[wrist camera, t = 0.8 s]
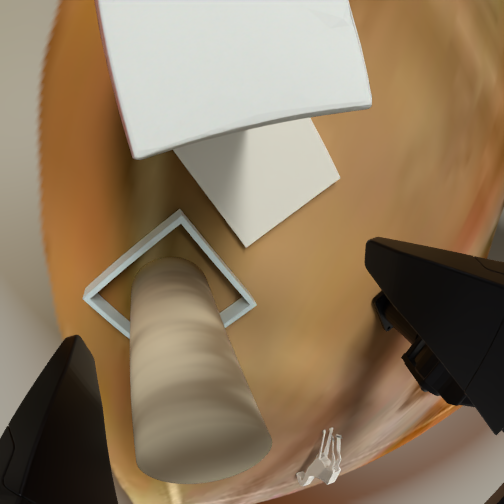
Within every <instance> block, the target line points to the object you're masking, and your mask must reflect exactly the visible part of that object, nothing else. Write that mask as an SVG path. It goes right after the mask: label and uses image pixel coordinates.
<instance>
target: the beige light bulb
mask: <svg viewBox="0 0 504 504" xmlns="http://www.w3.org/2000/svg"><path fill="white" fill-rule="evenodd" d="M130 383H131V405H132V420H133V433H134V444H135V453H136V462H137V465H138V467H139V468H140V470H141V471H142V472H144V473H145V474H147V475H148V476H150V477H152V478H155V479H157V480H161V481H165V482H170V483H178V484H197V483H206V482H212V481H217V480H221V479H225V478H228V477H231V476H234V475H237V474H239V473H241V472H244V471H246V470H248V469H249V468H251V467H253V466H254V465H256V464H257V463H259V462H260V461H261V460H262V459H263V458H264V457H265V456H266V455H267V454H268V452H269V451H270V449H271V446H272V439H271V436H270V434H269V432H268V430H267V427H266V425H265V423H264V421H263V418H262V416H261V414H260V412H259V409H258V407H257V405H256V402H255V400H254V398H253V395H252V393H251V391H250V388H249V386H248V384H247V381H246V379H245V377H244V374H243V372H242V369H241V367H240V364H239V362H238V360H237V357H236V355H235V352H234V350H233V347H232V345H231V342H230V340H229V337H228V335H227V332H226V330H225V327H224V324H223V322H222V319H221V317H220V314H219V311H218V309H217V306H216V304H215V301H214V298H213V296H212V293H211V290H210V288H209V285H208V282H207V279H206V277H205V275H204V273H203V272H202V271H201V269H200V268H199V267H198V266H196V265H195V264H194V263H192V262H190V261H188V260H185V259H182V258H178V257H164V258H159V259H156V260H154V261H152V262H150V263H148V264H146V265H145V266H144V267H143V268H142V269H141V270H140V271H139V272H138V273H137V275H136V276H135V278H134V281H133V284H132V291H131V314H130Z"/></svg>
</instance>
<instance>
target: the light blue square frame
mask: <svg viewBox="0 0 504 504" xmlns="http://www.w3.org/2000/svg"><path fill="white" fill-rule="evenodd" d="M180 224H182V226H183V227H184V228H185V229H186V230H187V232H188V233H189V234H190V235H191V236H192V238H193V239H194V240H195V241H196V242H197V244H198V245H199V246H200V247H201V248H202V250H203V251H204V252H205V253H206V254H207V255H208V257H209V258H210V259H211V260H212V261H213V262H214V264H215V265H216V266H217V267H218V268H219V269H220V271H221V272H222V273H223V274H224V275H225V276H226V278H227V279H228V280H229V281H230V282H231V283H232V285H233V286H234V287H235V288H236V289H237V290H238V291H239V293H240V294H241V295H242V296H243V297H241V298H240V299H238V300H237V301H236V302H234V303H233V304H232V305H230V306H229V307H227V308H226V309H225V310H223V311H222V312H221V313H219V314H220V317H221V319H222V322H223V324H224V327H225V328H226V327H227V326H229V325H230V324H231V323H233V322H234V321H236V320H237V319H238V318H240V317H241V316H243V315H244V314H245V313H247V312H248V311H250V310H251V309H252V308H254V307H255V306H256V305H257V304H256V302H255V300H254V299H253V297H252V295H251V294H250V293H249V292H248V290H247V289H246V288H245V287H244V286H243V284H242V283H241V282H240V281H239V280H238V279H237V277H236V276H235V275H234V274H233V273H232V271H231V270H230V269H229V268H228V267H227V265H226V264H225V263H224V262H223V261H222V259H221V258H220V257H219V256H218V255H217V253H216V252H215V251H214V250H213V248H212V247H211V246H210V245H209V244H208V242H207V241H206V240H205V239H204V238H203V236H202V235H201V234H200V233H199V231H198V230H197V229H196V228H195V227H194V225H193V224H192V223H191V222H190V220H189V219H188V218H187V217H186V215H185V214H184V213H183V212H182V210H181V209H179V210H177V211H176V212H175V213H174V214H172V215H171V216H170V217H168V218H167V219H166V220H165V221H163V222H162V223H161V224H160V225H158V226H157V227H156V228H155V229H153V230H152V231H151V232H150V233H149V234H147V235H146V236H145V237H144V238H142V239H141V240H140V241H139V242H138V243H136V244H135V245H134V246H133V247H132V248H130V249H129V250H128V251H127V252H126V253H125V254H123V255H122V256H121V257H120V258H119V259H118V260H116V261H115V262H114V263H113V264H112V265H111V266H109V267H108V268H107V269H106V270H105V271H104V272H103V273H101V274H100V275H99V276H98V277H97V278H96V279H95V280H94V281H93V282H91V283H90V284H89V285H88V286H87V287H86V288H85V292H84V295H83V300H85V301H86V302H87V303H88V304H89V305H90V306H91V307H92V308H93V309H95V310H96V311H97V312H98V313H99V314H100V315H101V316H103V317H104V318H105V319H106V320H107V321H108V322H110V323H111V324H112V325H113V326H114V327H115V328H117V329H118V330H119V331H120V332H122V333H123V334H124V335H125V336H126V337H128V338H129V339H130V322H129V321H128V320H127V319H126V318H125V317H124V316H123V315H121V314H120V313H119V312H118V311H117V310H116V309H115V308H113V307H112V306H111V305H110V304H109V303H108V302H107V301H106V300H105V299H104V298H102V297H101V296H100V295H99V294H98V293H97V292H99V291H100V290H101V289H102V288H103V287H104V286H105V285H107V284H108V283H109V282H110V281H111V280H112V279H114V278H115V277H116V276H117V275H118V274H119V273H121V272H122V271H123V270H124V269H125V268H127V267H128V266H129V265H130V264H131V263H133V262H134V261H135V260H136V259H137V258H139V257H140V256H141V255H142V254H143V253H145V252H146V251H147V250H148V249H150V248H151V247H152V246H153V245H155V244H156V243H157V242H158V241H159V240H161V239H162V238H163V237H164V236H166V235H167V234H168V233H170V232H171V231H172V230H173V229H175V228H176V227H177V226H178V225H180Z"/></svg>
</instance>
